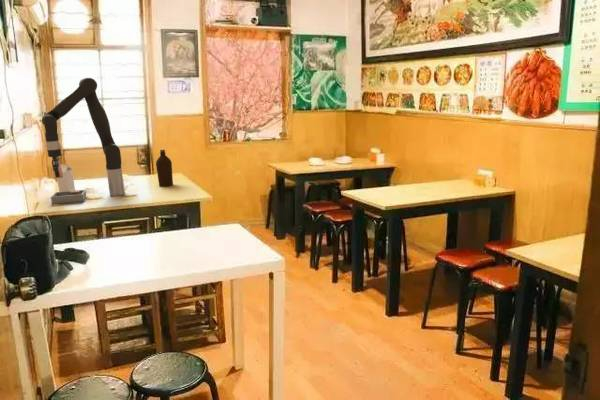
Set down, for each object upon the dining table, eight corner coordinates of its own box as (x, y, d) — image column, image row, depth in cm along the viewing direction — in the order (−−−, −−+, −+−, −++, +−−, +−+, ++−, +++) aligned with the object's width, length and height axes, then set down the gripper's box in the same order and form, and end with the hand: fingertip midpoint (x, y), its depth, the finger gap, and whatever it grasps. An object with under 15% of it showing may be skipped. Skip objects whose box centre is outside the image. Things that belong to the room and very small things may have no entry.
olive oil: (162, 187, 337) (158, 151, 331) (155, 185, 345) (151, 150, 339) (176, 185, 344) (173, 149, 337) (169, 183, 352) (166, 148, 345)
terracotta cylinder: (63, 176, 303) (61, 165, 301) (62, 177, 298) (60, 166, 297) (55, 177, 302) (53, 166, 300) (53, 178, 297) (51, 167, 295)
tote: (87, 197, 317) (86, 189, 316) (83, 202, 304) (82, 194, 303) (56, 199, 313) (55, 192, 312) (52, 205, 300) (50, 197, 299)
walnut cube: (81, 197, 312) (80, 189, 311) (80, 199, 308) (79, 191, 306) (73, 198, 311) (71, 190, 310) (71, 200, 306) (70, 192, 305)
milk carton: (68, 193, 330) (64, 165, 326) (59, 193, 332) (54, 165, 327) (75, 191, 337) (71, 163, 332) (66, 190, 338) (61, 163, 334)
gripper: (58, 149, 290) (63, 177, 294) (62, 146, 303) (67, 173, 307) (44, 150, 288) (49, 179, 292) (49, 147, 301) (54, 174, 305)
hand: (58, 176), depth 300 cm, fingers closed on terracotta cylinder, 5 cm apart
